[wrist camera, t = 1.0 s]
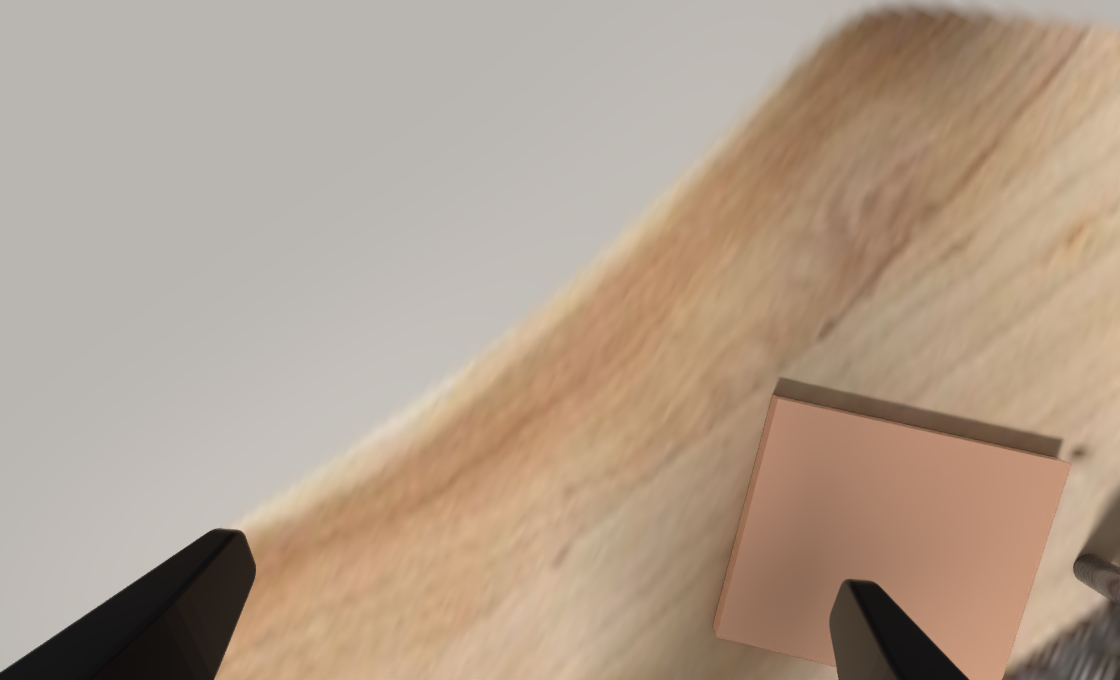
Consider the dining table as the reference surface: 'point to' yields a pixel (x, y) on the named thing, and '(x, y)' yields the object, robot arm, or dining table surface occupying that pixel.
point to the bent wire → (1099, 576)
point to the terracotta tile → (887, 533)
